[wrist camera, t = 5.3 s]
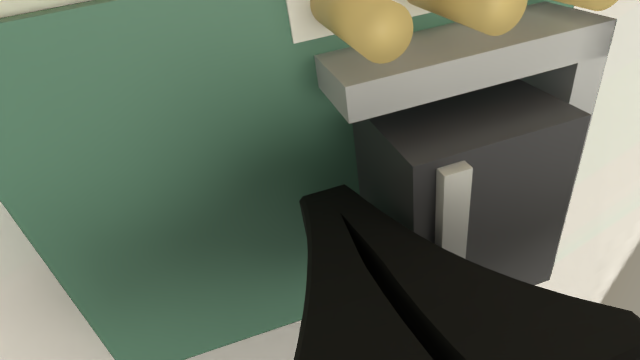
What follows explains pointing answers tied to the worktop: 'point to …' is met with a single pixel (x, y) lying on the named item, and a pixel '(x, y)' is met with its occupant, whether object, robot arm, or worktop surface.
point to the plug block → (478, 173)
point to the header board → (233, 138)
